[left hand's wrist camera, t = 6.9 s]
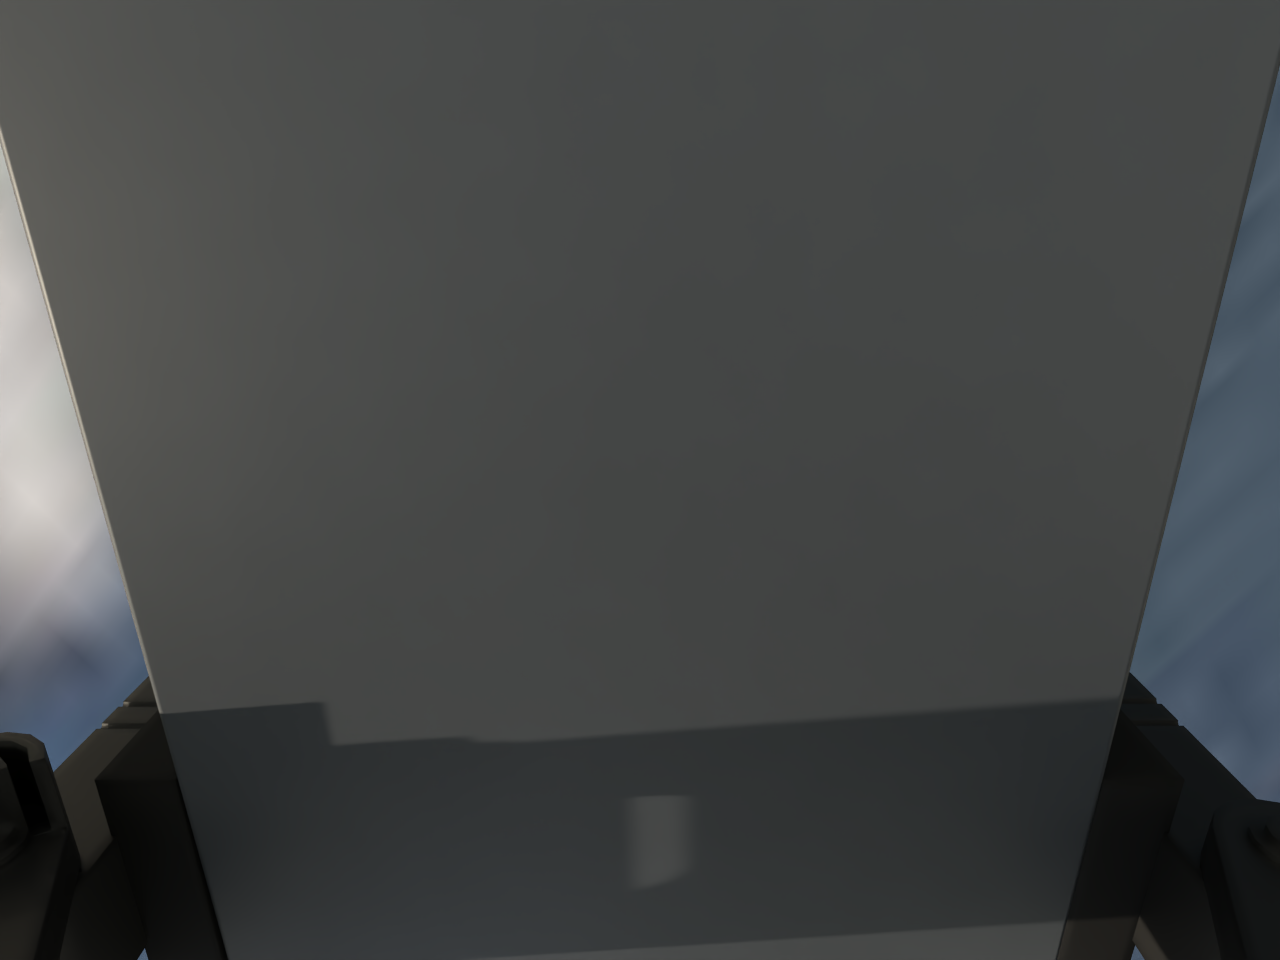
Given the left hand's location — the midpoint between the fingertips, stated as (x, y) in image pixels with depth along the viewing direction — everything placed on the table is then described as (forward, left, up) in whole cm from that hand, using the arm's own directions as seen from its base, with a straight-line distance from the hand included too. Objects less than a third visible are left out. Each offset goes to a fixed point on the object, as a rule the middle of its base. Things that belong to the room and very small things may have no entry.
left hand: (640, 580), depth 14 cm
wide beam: (+21, +15, -1) cm, 26 cm away
